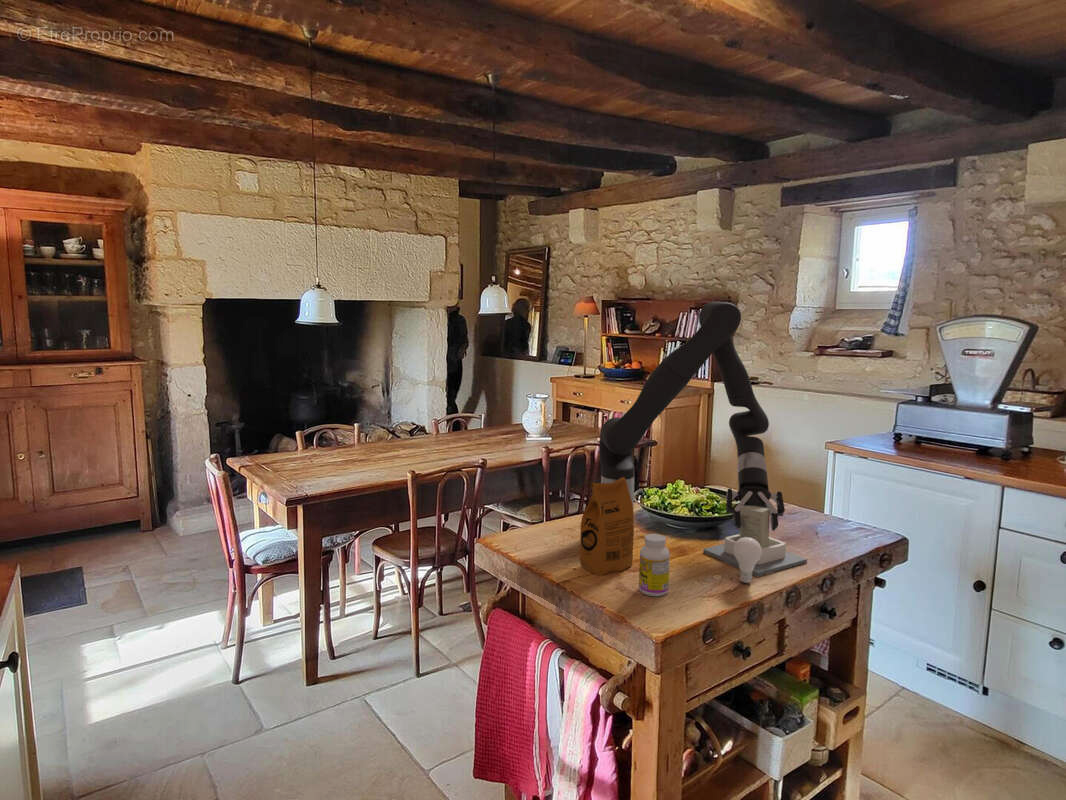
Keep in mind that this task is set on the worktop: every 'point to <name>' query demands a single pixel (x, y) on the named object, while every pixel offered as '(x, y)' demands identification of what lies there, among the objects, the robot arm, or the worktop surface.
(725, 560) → the holder
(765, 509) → the skincare box
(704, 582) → the worktop surface
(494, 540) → the worktop surface
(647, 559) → the supplement bottle
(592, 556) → the coffee package
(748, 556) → the lightbulb
